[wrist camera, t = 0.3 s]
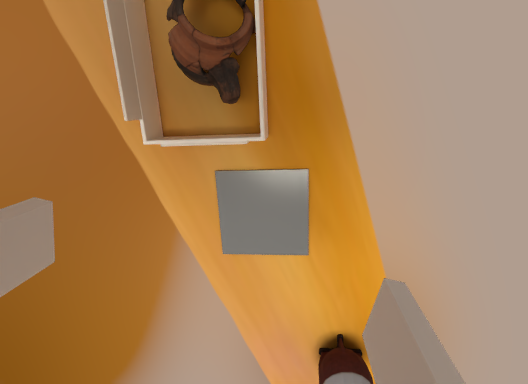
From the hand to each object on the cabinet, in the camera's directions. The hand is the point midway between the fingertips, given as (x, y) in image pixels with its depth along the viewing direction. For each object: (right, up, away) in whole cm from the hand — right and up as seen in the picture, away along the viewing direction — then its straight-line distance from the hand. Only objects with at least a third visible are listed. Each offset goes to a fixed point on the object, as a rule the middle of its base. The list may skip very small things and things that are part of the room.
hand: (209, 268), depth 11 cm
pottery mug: (-4, +18, +24) cm, 30 cm away
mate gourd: (+14, -21, +33) cm, 41 cm away
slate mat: (+2, 0, +27) cm, 27 cm away
